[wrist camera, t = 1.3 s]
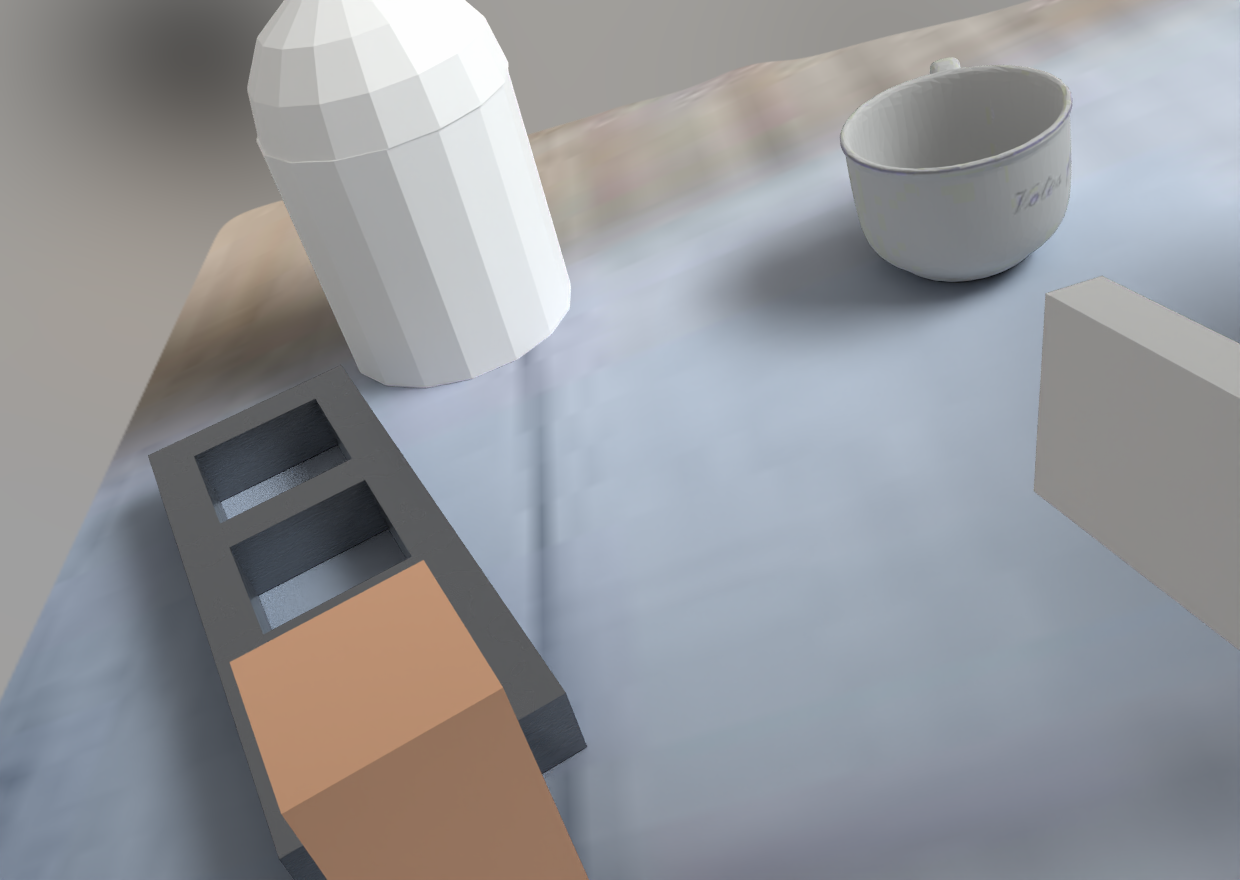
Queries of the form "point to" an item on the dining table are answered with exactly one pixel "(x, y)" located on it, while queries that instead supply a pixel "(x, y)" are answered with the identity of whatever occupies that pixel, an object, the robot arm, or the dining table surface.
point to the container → (409, 184)
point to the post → (400, 745)
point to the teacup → (961, 168)
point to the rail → (330, 554)
